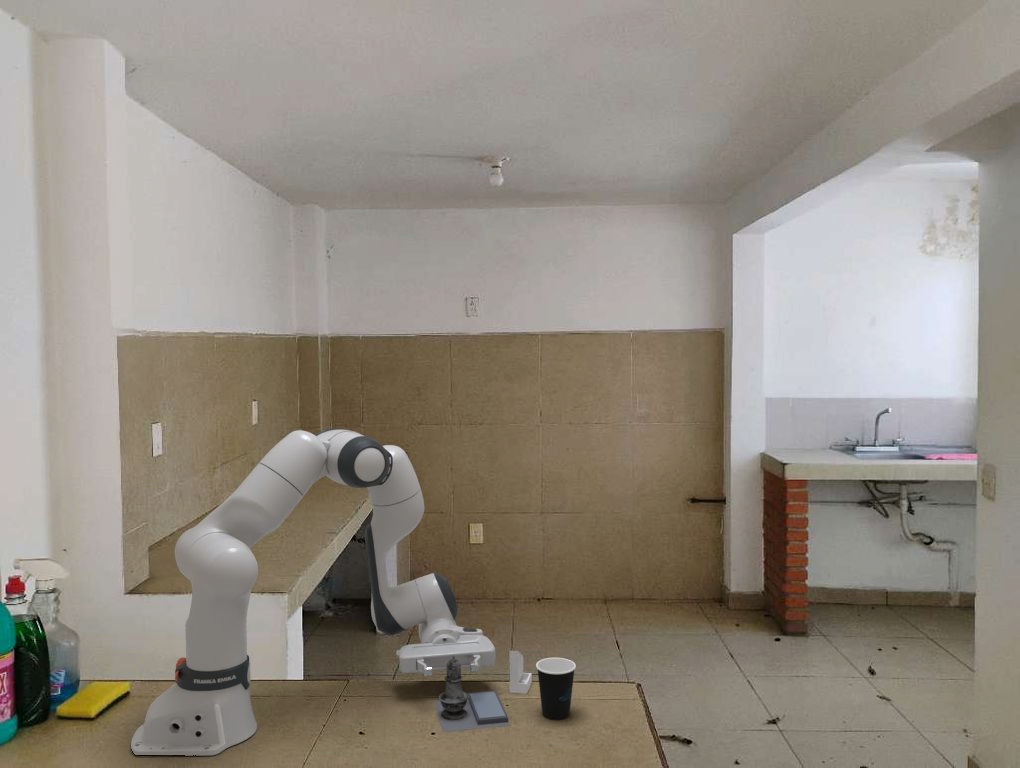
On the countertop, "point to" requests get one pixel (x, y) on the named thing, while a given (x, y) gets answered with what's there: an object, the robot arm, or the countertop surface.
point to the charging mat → (463, 720)
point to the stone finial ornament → (453, 693)
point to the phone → (487, 707)
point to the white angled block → (518, 674)
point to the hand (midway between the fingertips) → (451, 670)
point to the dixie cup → (555, 686)
